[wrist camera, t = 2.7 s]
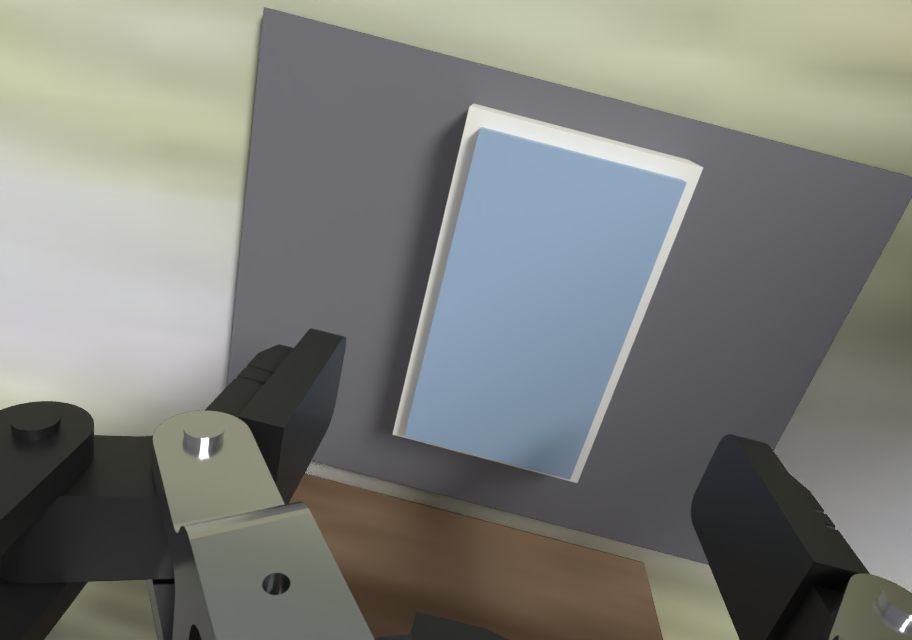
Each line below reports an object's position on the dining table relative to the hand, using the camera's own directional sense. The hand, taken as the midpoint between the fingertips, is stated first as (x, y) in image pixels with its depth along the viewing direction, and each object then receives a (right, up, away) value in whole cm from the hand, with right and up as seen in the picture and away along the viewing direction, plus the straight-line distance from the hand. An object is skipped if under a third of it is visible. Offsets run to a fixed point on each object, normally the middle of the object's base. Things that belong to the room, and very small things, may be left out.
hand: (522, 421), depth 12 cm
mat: (+1, +2, +7) cm, 7 cm away
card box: (+1, +3, +6) cm, 6 cm away
